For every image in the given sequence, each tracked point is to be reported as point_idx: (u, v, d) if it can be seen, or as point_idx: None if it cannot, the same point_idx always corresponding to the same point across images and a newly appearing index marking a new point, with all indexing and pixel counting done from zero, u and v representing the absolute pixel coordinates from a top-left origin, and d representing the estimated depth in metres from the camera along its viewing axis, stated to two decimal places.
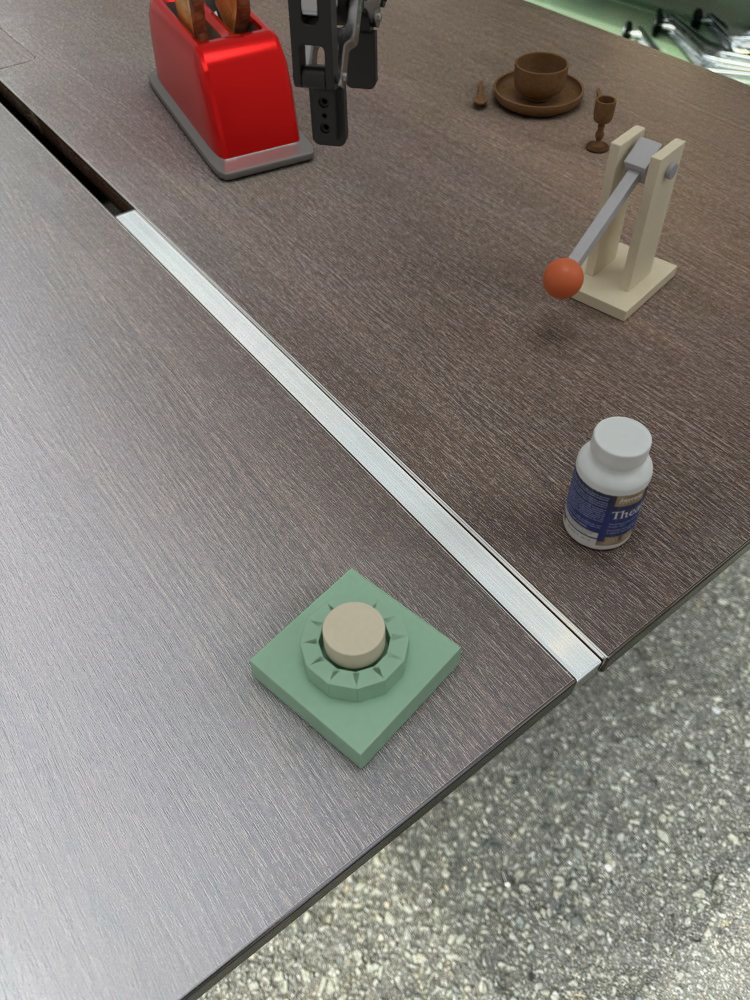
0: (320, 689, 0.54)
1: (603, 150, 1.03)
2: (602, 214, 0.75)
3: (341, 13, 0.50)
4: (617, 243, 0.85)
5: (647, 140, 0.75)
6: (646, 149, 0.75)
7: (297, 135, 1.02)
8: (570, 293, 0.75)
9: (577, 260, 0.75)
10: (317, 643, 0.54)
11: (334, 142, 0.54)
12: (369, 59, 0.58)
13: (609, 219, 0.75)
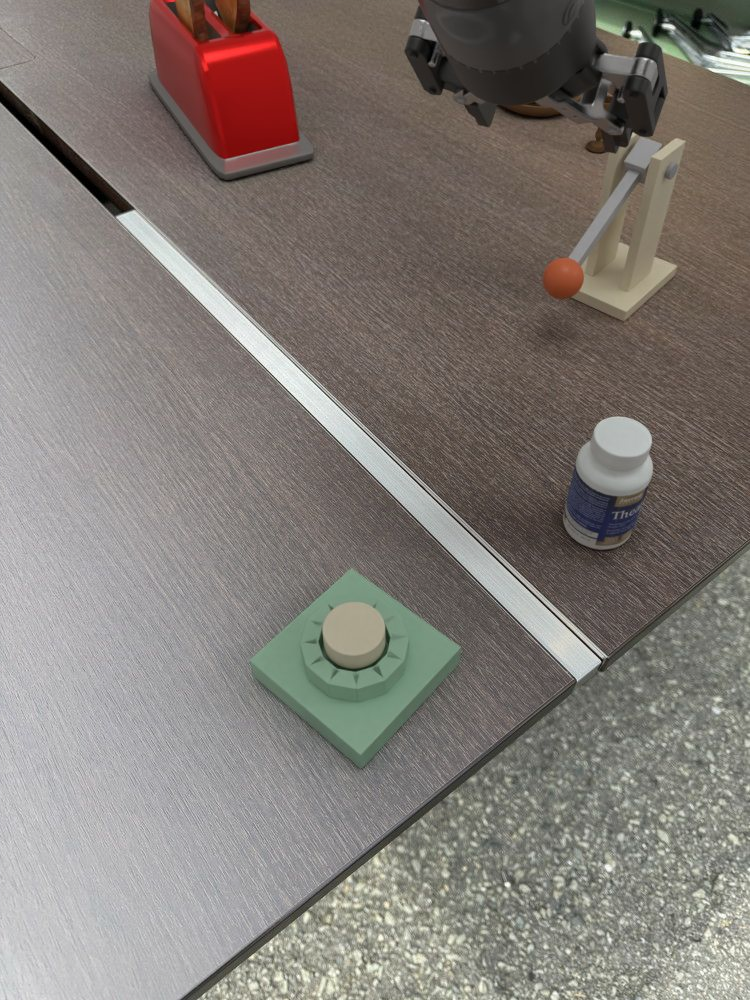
0: (320, 689, 0.54)
1: (603, 150, 1.03)
2: (602, 214, 0.75)
3: None
4: (617, 243, 0.85)
5: (647, 140, 0.75)
6: (646, 149, 0.75)
7: (297, 135, 1.02)
8: (570, 293, 0.75)
9: (577, 260, 0.75)
10: (317, 643, 0.54)
11: None
12: None
13: (609, 219, 0.75)
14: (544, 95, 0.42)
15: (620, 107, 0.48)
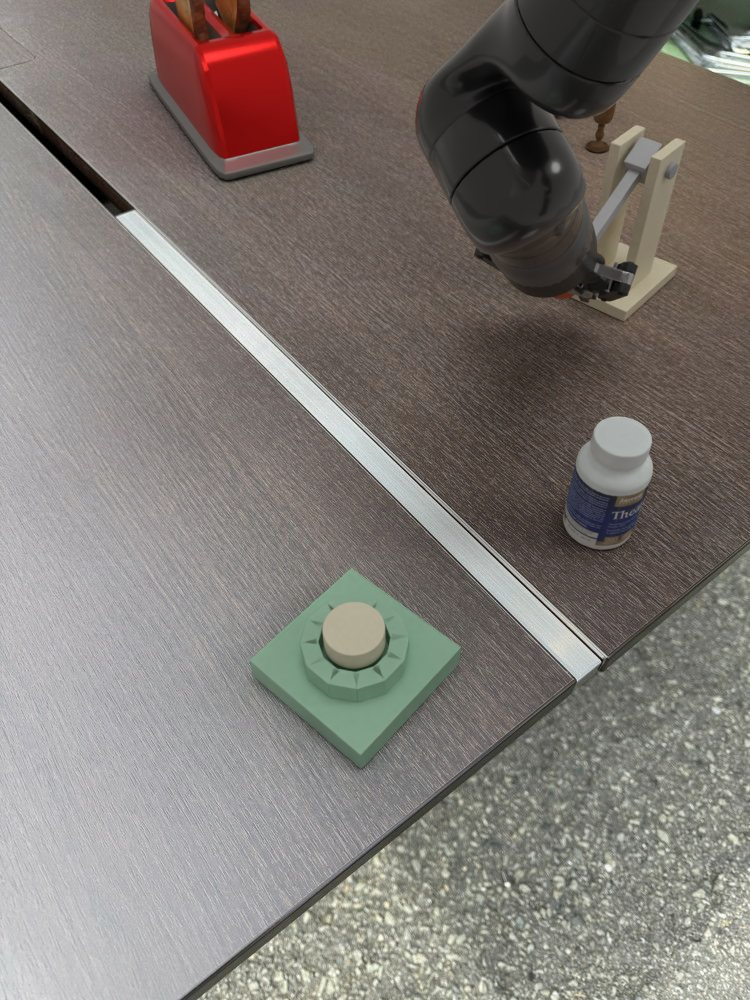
0: (320, 689, 0.54)
1: (603, 150, 1.03)
2: (602, 214, 0.75)
3: None
4: (617, 243, 0.85)
5: (647, 140, 0.75)
6: (646, 149, 0.75)
7: (297, 135, 1.02)
8: None
9: None
10: (317, 643, 0.54)
11: None
12: None
13: (609, 219, 0.75)
14: (563, 293, 0.65)
15: (592, 283, 0.73)
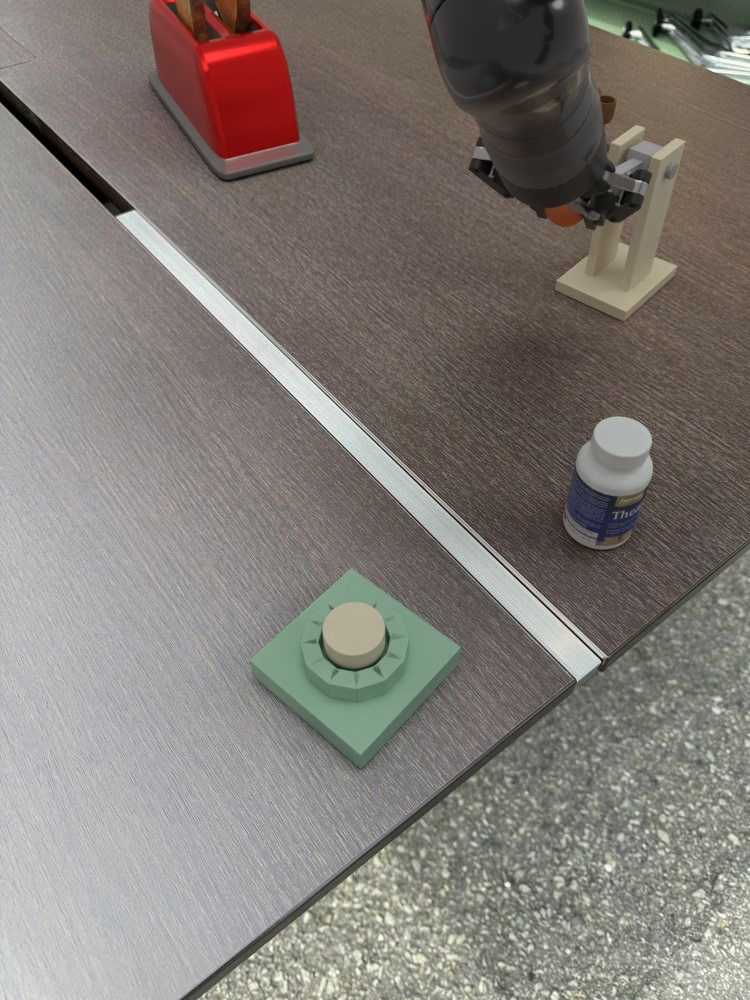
0: (320, 689, 0.54)
1: None
2: None
3: None
4: (617, 243, 0.85)
5: (651, 143, 0.76)
6: (650, 147, 0.75)
7: (297, 135, 1.02)
8: None
9: None
10: (317, 643, 0.54)
11: None
12: None
13: None
14: (569, 201, 0.58)
15: None
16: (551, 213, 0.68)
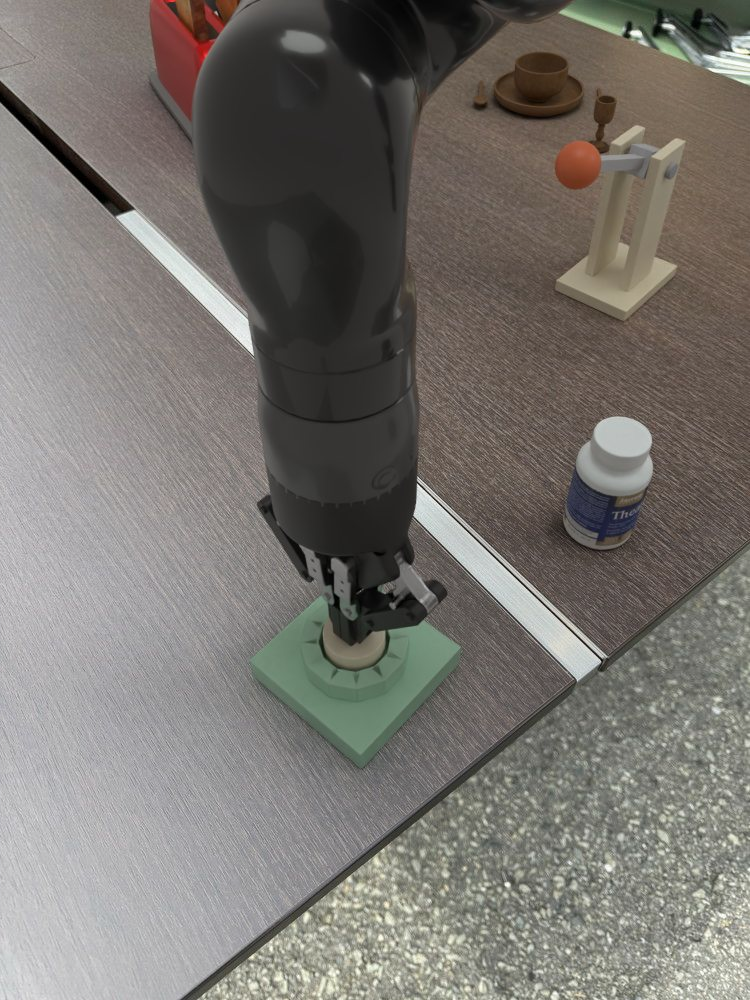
0: (320, 689, 0.54)
1: (603, 150, 1.03)
2: (614, 156, 0.71)
3: None
4: (617, 243, 0.85)
5: (651, 146, 0.76)
6: (651, 147, 0.75)
7: None
8: (588, 170, 0.65)
9: None
10: (317, 643, 0.54)
11: None
12: None
13: (620, 162, 0.71)
14: (338, 552, 0.41)
15: None
16: (562, 170, 0.66)
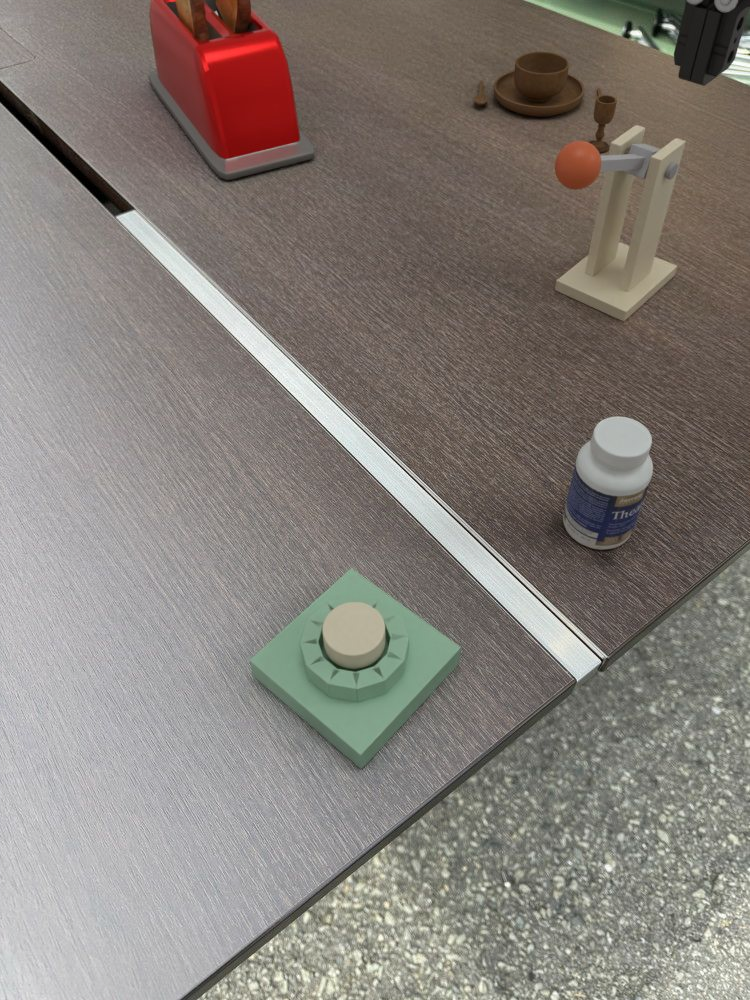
0: (320, 689, 0.54)
1: (603, 150, 1.03)
2: (614, 156, 0.71)
3: None
4: (617, 243, 0.85)
5: (651, 146, 0.76)
6: (651, 147, 0.75)
7: (298, 135, 1.02)
8: (588, 170, 0.65)
9: None
10: (317, 643, 0.54)
11: None
12: None
13: (620, 162, 0.71)
14: None
15: None
16: (562, 170, 0.66)
